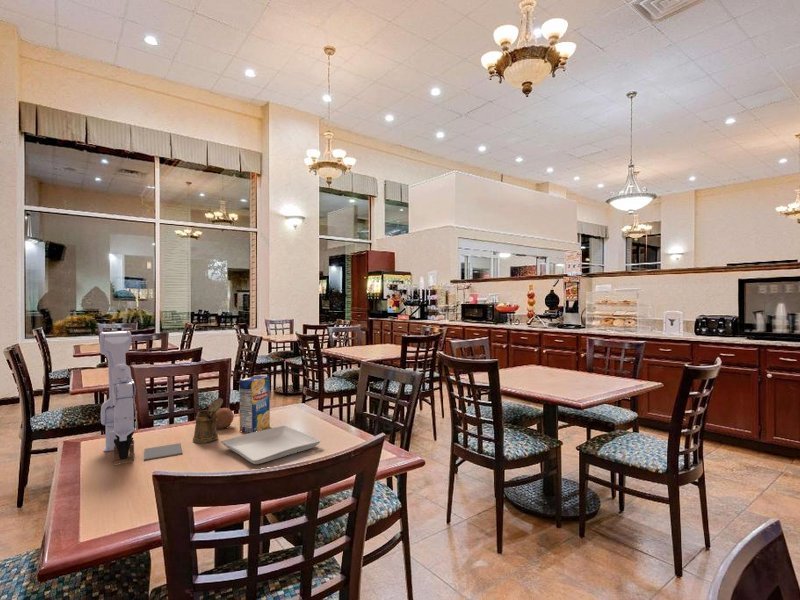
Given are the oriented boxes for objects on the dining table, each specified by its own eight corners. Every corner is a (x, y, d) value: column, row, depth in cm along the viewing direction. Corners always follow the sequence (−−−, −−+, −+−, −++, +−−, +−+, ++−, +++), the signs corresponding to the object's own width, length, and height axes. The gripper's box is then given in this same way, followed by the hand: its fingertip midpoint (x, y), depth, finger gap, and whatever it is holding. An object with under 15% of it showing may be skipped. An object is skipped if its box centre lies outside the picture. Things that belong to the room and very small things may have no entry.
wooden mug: (209, 447, 163) (209, 399, 163) (188, 441, 170) (187, 395, 170) (229, 440, 171) (229, 395, 171) (208, 434, 178) (207, 391, 178)
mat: (144, 450, 160) (144, 448, 160) (180, 444, 166) (180, 443, 166) (144, 460, 150) (144, 459, 150) (182, 454, 156) (182, 452, 156)
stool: (114, 459, 151) (114, 442, 151) (134, 456, 154) (134, 439, 154) (113, 465, 146) (113, 447, 146) (134, 461, 149) (134, 444, 149)
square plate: (219, 450, 161) (219, 439, 161) (284, 433, 180) (284, 424, 180) (253, 470, 142) (253, 459, 142) (322, 449, 161) (322, 439, 161)
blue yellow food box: (239, 431, 182) (239, 379, 181) (257, 424, 192) (257, 375, 191) (252, 433, 179) (251, 381, 179) (269, 426, 189) (269, 376, 189)
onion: (212, 436, 185) (201, 416, 184) (228, 424, 194) (217, 405, 193) (226, 431, 181) (214, 410, 180) (242, 419, 189) (231, 399, 188)
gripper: (111, 413, 154) (112, 451, 154) (108, 424, 142) (108, 464, 142) (134, 411, 158) (135, 447, 158) (133, 420, 145) (133, 460, 145)
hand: (124, 455), depth 150 cm, fingers open, 6 cm apart
